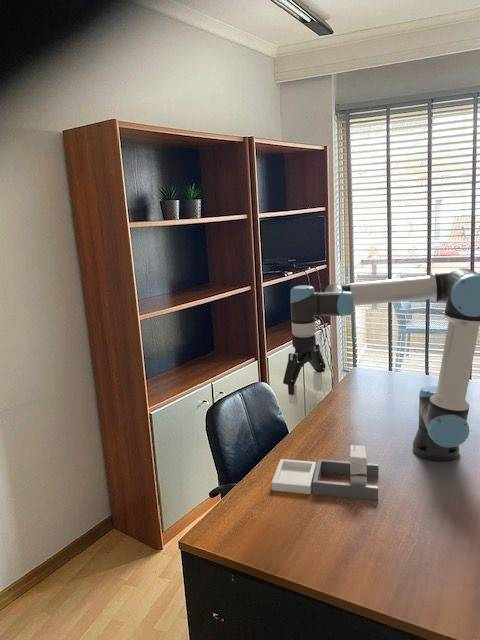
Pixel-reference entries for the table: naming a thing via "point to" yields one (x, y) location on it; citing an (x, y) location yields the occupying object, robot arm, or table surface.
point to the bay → (344, 488)
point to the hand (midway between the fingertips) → (305, 396)
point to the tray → (294, 476)
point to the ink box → (358, 465)
